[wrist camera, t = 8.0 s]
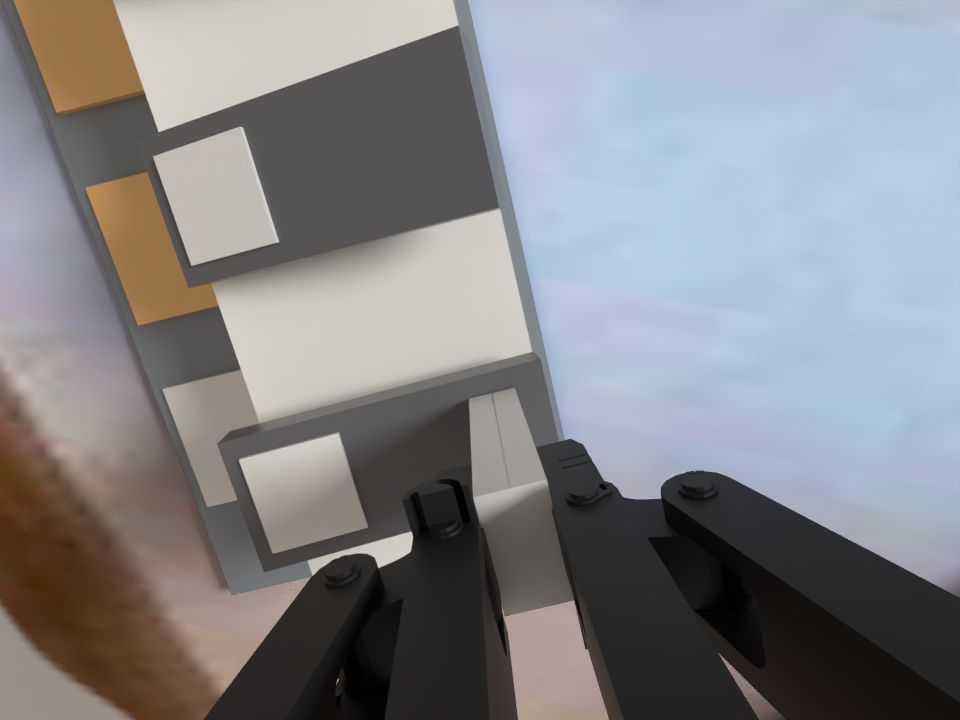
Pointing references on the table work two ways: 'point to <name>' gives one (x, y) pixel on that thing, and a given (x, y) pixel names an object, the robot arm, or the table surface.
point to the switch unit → (280, 290)
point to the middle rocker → (328, 162)
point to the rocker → (365, 459)
